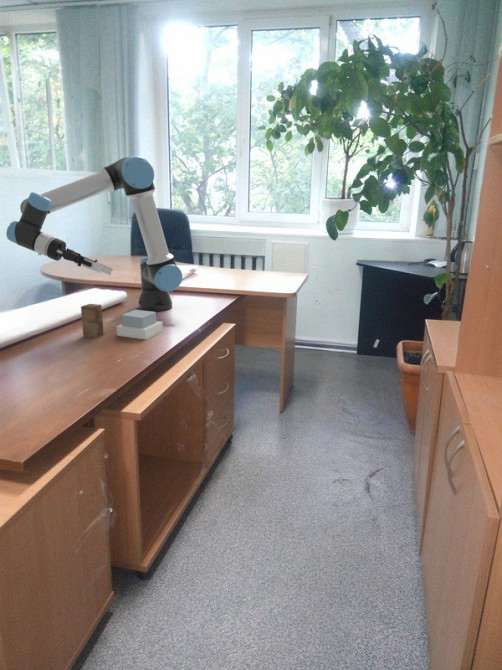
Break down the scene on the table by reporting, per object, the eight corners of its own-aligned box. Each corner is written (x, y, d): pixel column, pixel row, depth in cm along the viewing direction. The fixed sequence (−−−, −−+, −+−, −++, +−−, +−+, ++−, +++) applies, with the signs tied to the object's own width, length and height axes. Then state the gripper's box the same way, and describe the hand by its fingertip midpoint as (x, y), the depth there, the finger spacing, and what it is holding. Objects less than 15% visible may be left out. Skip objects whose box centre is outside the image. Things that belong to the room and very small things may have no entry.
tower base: (135, 328, 185) (134, 318, 184) (162, 331, 181) (162, 321, 180) (117, 336, 174) (116, 326, 173) (145, 340, 171) (145, 330, 169)
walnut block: (92, 332, 177) (89, 303, 174) (103, 334, 175) (101, 304, 172) (83, 336, 173) (80, 306, 169) (95, 337, 171) (92, 307, 168)
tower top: (136, 319, 182) (135, 309, 181) (156, 322, 179) (156, 312, 178) (122, 325, 174) (121, 315, 173) (143, 328, 171) (142, 317, 170)
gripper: (60, 260, 184) (111, 281, 185) (32, 253, 159) (92, 278, 161) (67, 242, 184) (118, 263, 185) (40, 232, 159) (100, 257, 160)
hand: (106, 270), depth 173 cm, fingers open, 13 cm apart
